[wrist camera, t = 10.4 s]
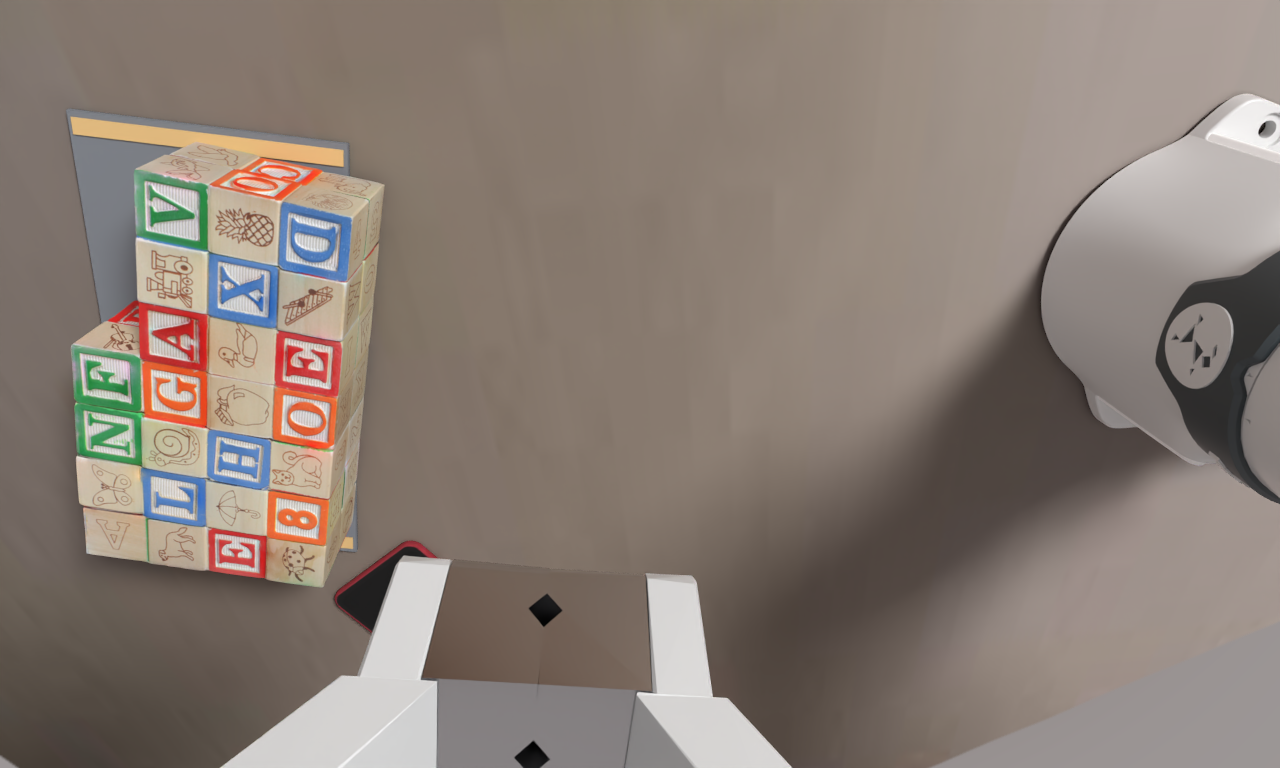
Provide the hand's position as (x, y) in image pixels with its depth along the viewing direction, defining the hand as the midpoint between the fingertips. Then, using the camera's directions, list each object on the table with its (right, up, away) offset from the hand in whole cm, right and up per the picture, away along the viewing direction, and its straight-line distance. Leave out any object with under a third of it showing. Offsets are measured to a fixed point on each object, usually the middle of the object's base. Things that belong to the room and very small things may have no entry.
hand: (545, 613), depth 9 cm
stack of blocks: (-14, +2, +35) cm, 38 cm away
